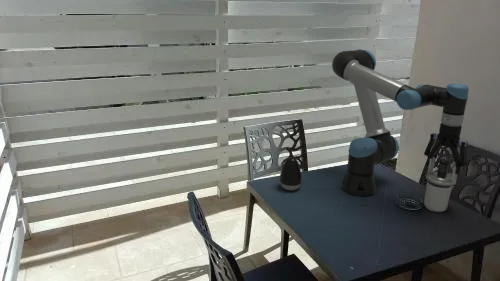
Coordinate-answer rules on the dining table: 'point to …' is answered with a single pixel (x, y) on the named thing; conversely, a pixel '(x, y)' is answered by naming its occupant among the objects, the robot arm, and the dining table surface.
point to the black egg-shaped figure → (291, 174)
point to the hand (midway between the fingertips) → (441, 176)
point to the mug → (437, 197)
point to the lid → (441, 174)
